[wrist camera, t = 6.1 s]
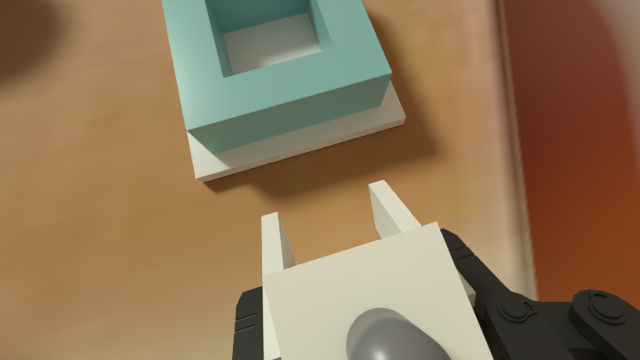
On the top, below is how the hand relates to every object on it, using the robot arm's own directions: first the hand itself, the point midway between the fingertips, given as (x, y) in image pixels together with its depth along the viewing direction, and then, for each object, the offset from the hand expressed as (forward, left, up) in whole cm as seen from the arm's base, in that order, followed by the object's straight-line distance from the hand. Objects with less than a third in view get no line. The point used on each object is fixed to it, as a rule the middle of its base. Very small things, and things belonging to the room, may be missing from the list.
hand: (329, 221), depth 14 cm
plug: (-2, -3, -4) cm, 6 cm away
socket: (+6, +11, -4) cm, 13 cm away
